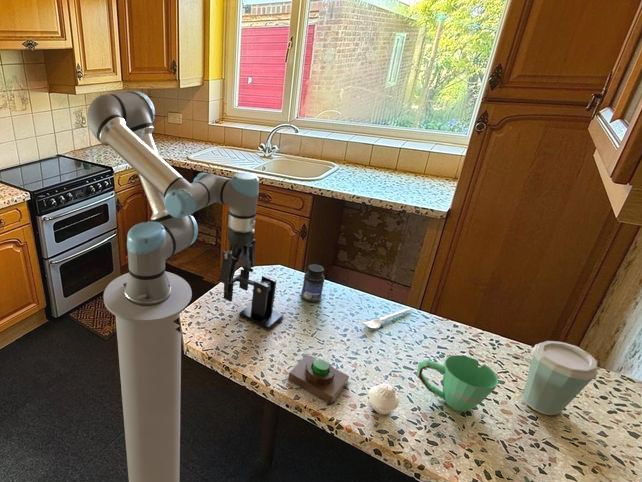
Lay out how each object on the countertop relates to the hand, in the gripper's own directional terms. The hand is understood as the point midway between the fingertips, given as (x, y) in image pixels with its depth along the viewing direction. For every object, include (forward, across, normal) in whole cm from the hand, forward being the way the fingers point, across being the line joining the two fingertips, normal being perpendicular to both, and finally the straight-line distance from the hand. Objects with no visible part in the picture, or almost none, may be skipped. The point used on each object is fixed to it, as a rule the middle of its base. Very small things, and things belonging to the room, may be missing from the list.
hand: (235, 293), depth 124 cm
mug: (+4, +3, -58) cm, 58 cm away
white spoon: (+4, +25, -38) cm, 45 cm away
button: (0, -12, -34) cm, 36 cm away
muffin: (+4, -10, -48) cm, 49 cm away
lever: (-5, 0, -5) cm, 7 cm away
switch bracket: (+4, 0, -10) cm, 10 cm away
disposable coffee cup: (+4, +17, -74) cm, 76 cm away
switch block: (+4, -12, -34) cm, 36 cm away
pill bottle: (+4, +20, -16) cm, 26 cm away
